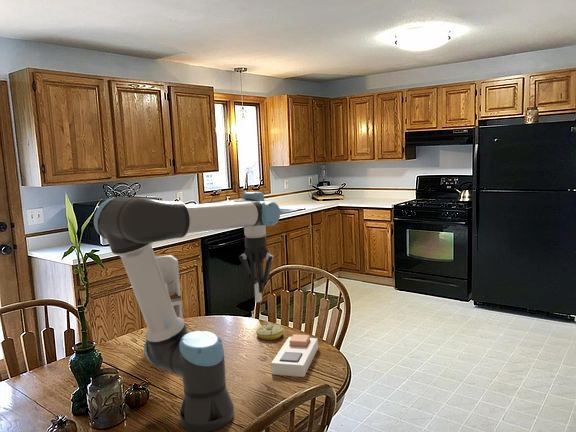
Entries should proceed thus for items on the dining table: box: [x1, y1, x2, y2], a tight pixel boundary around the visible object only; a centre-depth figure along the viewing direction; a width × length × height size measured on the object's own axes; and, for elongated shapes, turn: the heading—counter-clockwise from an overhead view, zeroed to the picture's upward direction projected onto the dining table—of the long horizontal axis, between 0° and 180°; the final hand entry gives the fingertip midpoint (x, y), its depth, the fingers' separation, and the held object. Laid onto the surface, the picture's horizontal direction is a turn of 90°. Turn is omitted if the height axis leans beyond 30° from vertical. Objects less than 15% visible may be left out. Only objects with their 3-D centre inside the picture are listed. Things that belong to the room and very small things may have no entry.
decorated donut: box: [255, 323, 284, 341], centre depth 184 cm, size 10×11×4 cm
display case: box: [155, 254, 184, 320], centre depth 176 cm, size 11×11×35 cm
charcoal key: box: [280, 352, 302, 362], centre depth 154 cm, size 6×6×3 cm
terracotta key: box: [290, 333, 311, 347], centre depth 166 cm, size 6×6×3 cm
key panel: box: [270, 336, 319, 378], centre depth 160 cm, size 22×11×4 cm, turn 164°
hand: (258, 301), depth 163 cm, fingers closed
